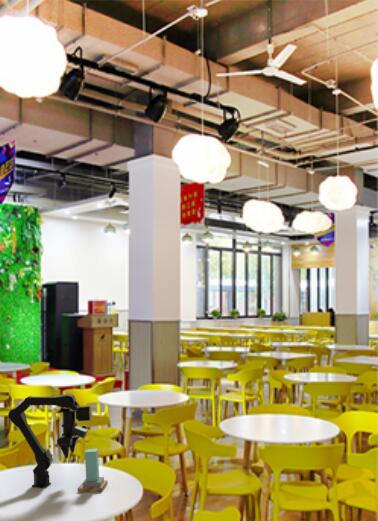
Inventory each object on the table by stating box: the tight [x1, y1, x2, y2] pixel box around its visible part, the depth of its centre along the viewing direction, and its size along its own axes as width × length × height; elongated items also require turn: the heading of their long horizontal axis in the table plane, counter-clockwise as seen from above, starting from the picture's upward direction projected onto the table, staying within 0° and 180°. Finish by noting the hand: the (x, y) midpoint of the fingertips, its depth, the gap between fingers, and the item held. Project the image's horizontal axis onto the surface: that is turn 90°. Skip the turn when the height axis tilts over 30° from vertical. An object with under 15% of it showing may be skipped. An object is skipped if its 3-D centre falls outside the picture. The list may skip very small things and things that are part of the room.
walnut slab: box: [77, 479, 109, 493], centre depth 263 cm, size 11×11×2 cm
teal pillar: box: [84, 448, 100, 481], centre depth 264 cm, size 5×5×13 cm
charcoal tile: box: [82, 476, 105, 488], centre depth 263 cm, size 8×8×2 cm
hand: (69, 455), depth 272 cm, fingers open, 9 cm apart
